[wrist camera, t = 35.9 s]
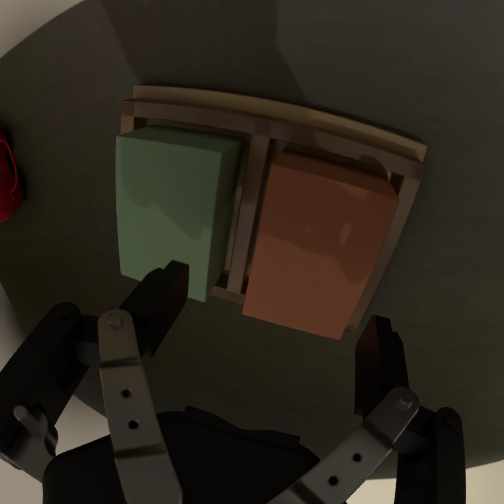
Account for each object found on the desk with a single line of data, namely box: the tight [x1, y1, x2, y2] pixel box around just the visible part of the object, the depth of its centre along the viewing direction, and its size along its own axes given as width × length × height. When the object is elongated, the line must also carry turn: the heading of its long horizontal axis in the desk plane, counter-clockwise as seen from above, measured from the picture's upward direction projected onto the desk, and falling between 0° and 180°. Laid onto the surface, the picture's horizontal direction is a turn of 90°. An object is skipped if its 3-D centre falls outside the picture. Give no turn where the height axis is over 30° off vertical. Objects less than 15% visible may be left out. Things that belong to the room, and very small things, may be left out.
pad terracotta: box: [242, 148, 400, 340], centre depth 17 cm, size 9×6×4 cm, turn 170°
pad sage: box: [116, 124, 245, 302], centre depth 18 cm, size 9×6×4 cm, turn 170°
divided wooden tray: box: [120, 84, 427, 335], centre depth 19 cm, size 14×18×2 cm
